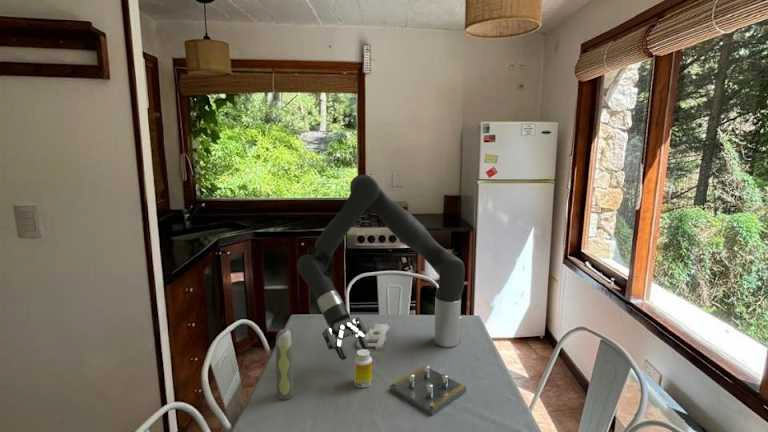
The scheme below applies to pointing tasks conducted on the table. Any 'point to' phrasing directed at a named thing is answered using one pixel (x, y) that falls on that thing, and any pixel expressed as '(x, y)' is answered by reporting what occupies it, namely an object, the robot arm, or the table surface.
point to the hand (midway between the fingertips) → (355, 354)
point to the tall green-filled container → (284, 365)
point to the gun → (376, 336)
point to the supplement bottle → (363, 369)
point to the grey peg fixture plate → (428, 389)
